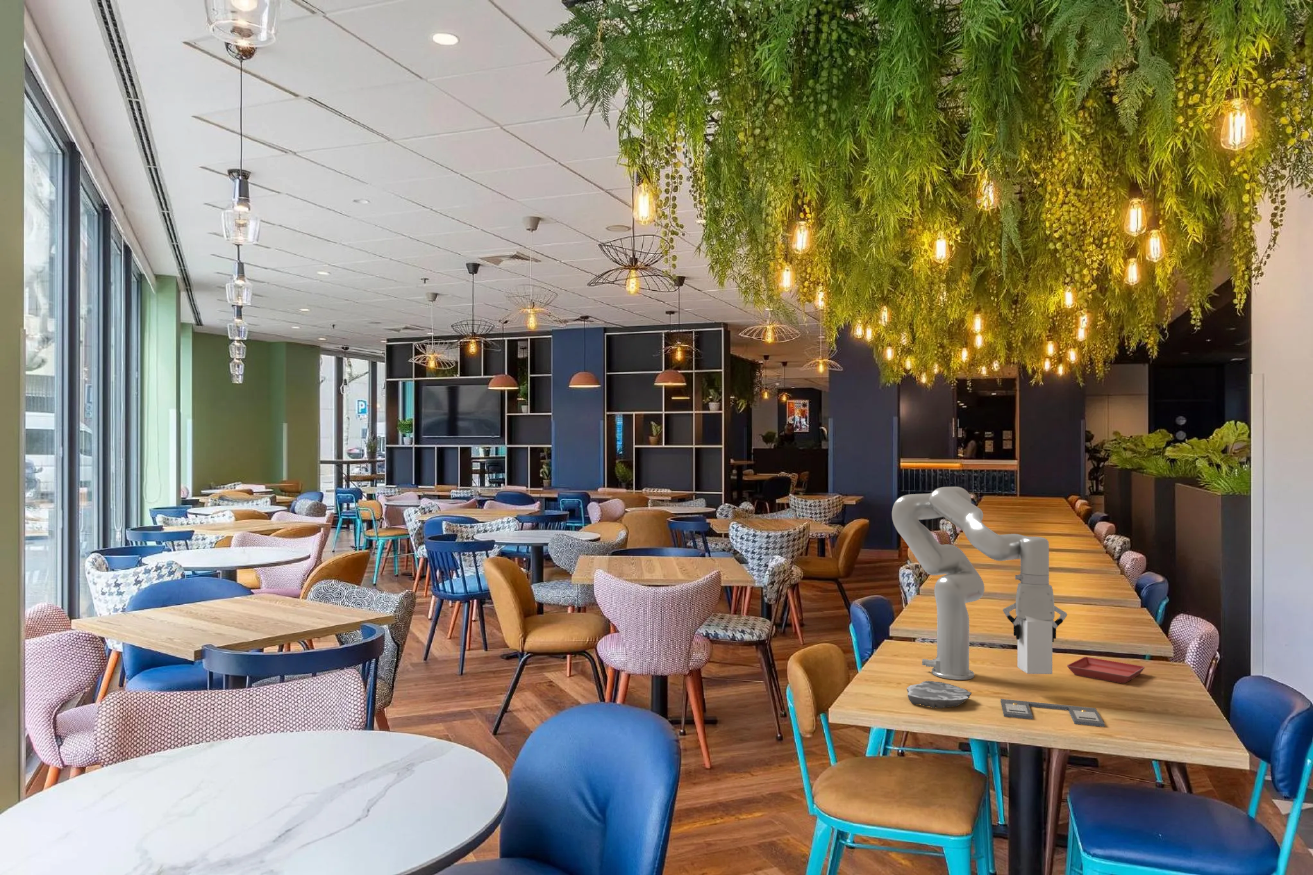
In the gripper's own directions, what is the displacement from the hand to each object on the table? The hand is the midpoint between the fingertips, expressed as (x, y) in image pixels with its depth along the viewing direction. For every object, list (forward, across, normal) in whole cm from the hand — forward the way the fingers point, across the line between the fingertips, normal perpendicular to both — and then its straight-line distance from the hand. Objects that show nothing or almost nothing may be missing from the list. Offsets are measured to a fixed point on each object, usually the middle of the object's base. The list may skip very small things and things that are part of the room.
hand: (1034, 639), depth 246 cm
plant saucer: (+17, +24, +33) cm, 44 cm away
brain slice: (+17, -26, -15) cm, 34 cm away
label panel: (+16, +2, -18) cm, 24 cm away
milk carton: (+9, 0, 0) cm, 9 cm away
